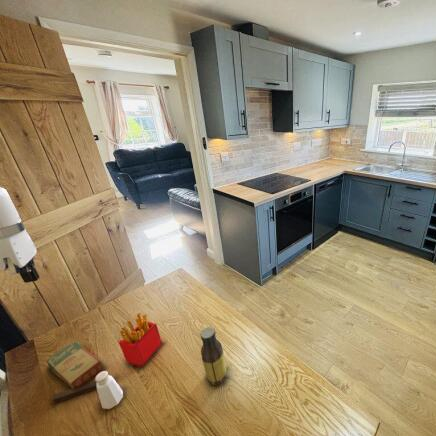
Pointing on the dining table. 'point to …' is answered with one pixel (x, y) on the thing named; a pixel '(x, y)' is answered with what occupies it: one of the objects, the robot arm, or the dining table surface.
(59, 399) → the rail
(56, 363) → the carton
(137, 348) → the french fries container
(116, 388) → the pepper shaker
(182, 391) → the dining table surface
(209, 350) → the sauce bottle
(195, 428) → the dining table surface
